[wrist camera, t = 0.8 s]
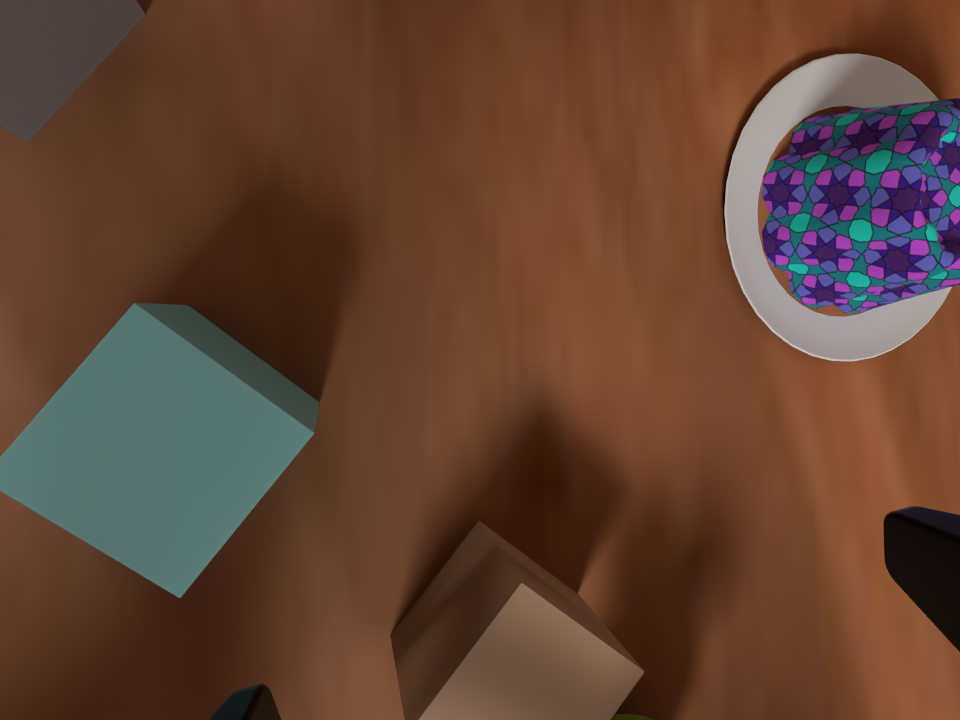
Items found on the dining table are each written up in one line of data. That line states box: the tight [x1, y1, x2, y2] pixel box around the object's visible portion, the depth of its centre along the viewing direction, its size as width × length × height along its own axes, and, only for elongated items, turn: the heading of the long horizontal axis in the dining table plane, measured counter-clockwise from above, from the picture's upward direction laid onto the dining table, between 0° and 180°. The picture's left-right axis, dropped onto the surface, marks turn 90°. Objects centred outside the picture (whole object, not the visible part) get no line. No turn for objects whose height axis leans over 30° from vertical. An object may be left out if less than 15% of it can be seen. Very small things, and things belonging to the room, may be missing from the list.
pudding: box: [724, 53, 960, 361], centre depth 21 cm, size 12×12×5 cm
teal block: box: [0, 303, 319, 598], centre depth 16 cm, size 5×5×5 cm
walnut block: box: [390, 521, 645, 720], centre depth 19 cm, size 5×5×5 cm
